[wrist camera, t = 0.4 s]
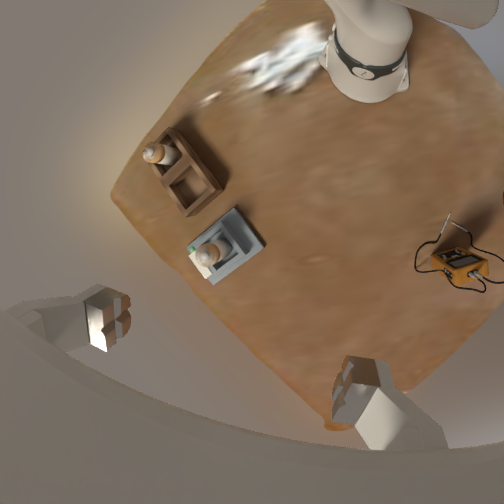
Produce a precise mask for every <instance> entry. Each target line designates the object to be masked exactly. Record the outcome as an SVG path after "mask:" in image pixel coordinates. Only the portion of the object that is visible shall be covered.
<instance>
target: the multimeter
mask: <svg viewBox="0 0 504 504" xmlns="http://www.w3.org/2000/svg"><path fill="white" fill-rule="evenodd" d="M449 215H450V213H449ZM449 215H448V218H449ZM448 218H447V220H448ZM447 220H446V221H445V223H444V225H443V227H442V230H441V232H440V236H441V234H442V232H443V231H444V228H445V226H446V224H447ZM451 223H453V222H451ZM453 224H454V225H456V224H455V223H453ZM456 226H457V227H458V228H460V229H462V230H463V231H465V232H468V231H467V230H466V229H464V228H463V227H461V226H459V225H456ZM468 233H469V234H470V235H471V233H470V232H468ZM440 236H439V238H440ZM439 238H438V240H439ZM438 240H437V241H436V242H427V243H425V244H429V243H432V244H434V243H437V242H438ZM425 244H423V245H422V246H421V247H423V246H424V245H425ZM471 245H472V235H471ZM421 247H420V248H421ZM472 247H473V248H475V247H474V246H473V245H472ZM420 248H419V249H418V250H417V252H416V256H415V265H414V266H415V270H416V271H417V272H420V273H428V272H435V271H437V272H439V273H440V274H441V275H442V276H444V277H445V278H446V279H447V280H449V282H450V283H451V284H452V285H453V286H454V287H456V288H459V289H466V290H474V291H478V292H480V293H484V292H485V291H486V285H485V283H484V282H483V281H482V280H480V278H483V279H485V280H487V281H488V282H491V283H495V284H502V283H504V282H494V281H490V280H488V279H487V278H485V277H486V276H488V275H489V272H488V260H487V259H485V258H483V257H481V256H479V255H476V254H474V253H472V252H470V251H468V250H465V249H463V248H461V247H456V248H453V249H450V250H446V251H443V252H439V253H435V254H432V255H431V261H432V268H434V269H435V270H432V271H423V272H422V271H418V270H417V269H416V257H417V253H418V251H419V250H420ZM475 249H477V248H475ZM477 250H479V251H482V252H485V253H488V254H492V255H494V256H496V257H498V258H499V259H501V260H502V261H503V262H504V260H503V259H502V258H500V257H499V256H497V255H495V254H493V253H490V252H487V251H483V250H480V249H477ZM474 280H479V281H480V282H482V283H483V284H484V287H485V290H484V291H480V290H477V289H472V288H463V287H457V286H459V285H462V284H465V283H468V282H471V281H474Z"/></svg>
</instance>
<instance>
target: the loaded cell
mask: <svg viewBox="0 0 504 504" xmlns="http://www.w3.org/2000/svg"><path fill="white" fill-rule="evenodd" d="M143 158H144V160H145V161H146V162H149V163H158V164H165V165H172V166H173V165H174V164H175V163H176V162H177V161H178V160H179V159H181V152H180V150H179V149H177V148H174V147H171V146H167V145H163V144H160V143H156V142H150V143H148V144H147V145H146V146H145V147H144V150H143Z"/></svg>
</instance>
